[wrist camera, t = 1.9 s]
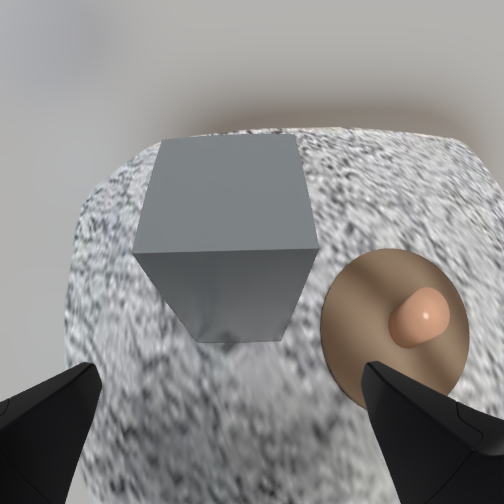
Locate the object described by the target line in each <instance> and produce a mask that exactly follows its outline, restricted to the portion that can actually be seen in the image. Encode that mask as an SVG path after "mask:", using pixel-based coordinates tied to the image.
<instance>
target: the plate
mask: <svg viewBox="0 0 504 504" xmlns="http://www.w3.org/2000/svg"><path fill="white" fill-rule="evenodd" d="M424 287H429V288H433V289H435V290H437V291H438V292H440V293H441V294H442V295H443V297H444V298H445V300H446V302H447V304H448V307H449V311H450V319H449V324H448V326H447V328H446V330H445V331H444V332H443V333H441V334H440V335H438V336H436V337H434V338H432V339H430V340H428V341H426V342H424V343H422V344H420V345H418V346H416V347H414V348H410V349H407V348H402V347H400V346H399V345H397V344H396V343H395V342H394V341H393V339H392V338H391V336H390V333H389V328H388V322H389V318H390V315H391V314H392V312H393V311H394V310H395V309H396V308H397V307H399V306H400V305H401V304H402V303H403V302H405V301H406V300H407V299H408V298H409V297H411V296H412V295H413V294H414V293H415V292H416V291H418V290H419V289H421V288H424ZM321 342H322V347H323V352H324V356H325V359H326V362H327V365H328V367H329V369H330V371H331V373H332V375H333V377H334V379H335V381H336V382H337V383H338V385H339V386H340V388H341V389H342V390H343V391H344V392H345V393H346V395H347V396H348V397H349V398H351V399H352V400H353V401H354V402H355V403H357V404H358V405H360V406H361V407H363V408H365V409H366V410H367V408H366V404H365V400H364V397H363V393H362V389H361V378H362V374H363V370H364V366H365V364H366V363H367V362H370V361H376V360H377V361H380V362H382V363H383V364H385V365H387V366H389V367H391V368H393V369H395V370H397V371H399V372H401V373H402V374H404V375H406V376H408V377H410V378H412V379H414V380H416V381H418V382H420V383H422V384H424V385H426V386H428V387H430V388H432V389H434V390H436V391H438V392H440V393H442V394H444V395H446V396H447V395H448V394H449V393H450V392H451V390H452V389H453V388H454V386H455V385H456V383H457V382H458V380H459V378H460V376H461V374H462V372H463V370H464V367H465V364H466V360H467V356H468V351H469V324H468V318H467V314H466V310H465V307H464V304H463V302H462V300H461V297H460V295H459V293H458V291H457V290H456V288H455V286H454V285H453V283H452V282H451V281H450V279H449V278H448V277H447V276H446V275H445V274H444V273H443V271H441V270H440V269H439V268H438V267H437V266H436V265H435V264H433V263H432V262H430V261H429V260H427V259H425V258H424V257H422V256H420V255H418V254H415V253H413V252H409V251H405V250H401V249H380V250H375V251H371V252H368V253H366V254H363V255H361V256H359V257H358V258H356V259H355V260H353V261H352V262H350V263H349V264H348V265H347V266H346V267H345V268H344V269H343V270H342V271H341V272H340V274H339V275H338V276H337V278H336V279H335V281H334V282H333V284H332V286H331V287H330V290H329V292H328V294H327V296H326V299H325V303H324V306H323V310H322V316H321Z"/></svg>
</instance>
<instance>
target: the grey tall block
mask: <svg viewBox="0 0 504 504" xmlns="http://www.w3.org/2000/svg"><path fill="white" fill-rule="evenodd" d="M318 250H319V245H318V239H317V234H316V229H315V223H314V218H313V213H312V208H311V204H310V199H309V194H308V189H307V185H306V180H305V176H304V171H303V167H302V163H301V158H300V154H299V150H298V146H297V142H296V138H295V135H294V134H239V135H215V136H200V137H187V138H176V139H166V140H162V142H161V145H160V148H159V152H158V155H157V158H156V161H155V164H154V168H153V171H152V174H151V178H150V181H149V185H148V189H147V192H146V196H145V200H144V204H143V207H142V211H141V216H140V220H139V224H138V228H137V233H136V237H135V242H134V247H133V251H132V254H133V255H134V257H135V258H136V260H137V261H138V263H139V264H140V266H141V267H142V269H143V270H144V272H145V273H146V275H147V276H148V277H149V279H150V280H151V282H152V283H153V284H154V286H155V287H156V289H157V290H158V291H159V293H160V294H161V295H162V297H163V298H164V300H165V301H166V302H167V304H168V305H169V306H170V308H171V309H172V310H173V312H174V313H175V314H176V315H177V317H178V318H179V319H180V321H181V322H182V323H183V324H184V326H185V327H186V328H187V330H188V331H189V332H190V333H191V335H192V336H193V337H194V338H195V340H196V341H197V342H204V343H228V342H266V341H281V339H282V337H283V335H284V332H285V330H286V328H287V325H288V323H289V321H290V319H291V316H292V314H293V312H294V309H295V307H296V305H297V302H298V300H299V297H300V295H301V293H302V290H303V288H304V285H305V283H306V280H307V278H308V275H309V273H310V270H311V268H312V265H313V263H314V260H315V258H316V255H317V253H318Z"/></svg>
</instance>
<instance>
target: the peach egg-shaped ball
mask: <svg viewBox="0 0 504 504" xmlns="http://www.w3.org/2000/svg"><path fill="white" fill-rule="evenodd" d="M449 319H450V311H449V307H448V304H447V302H446V300H445V298H444V297H443V295H442V294H441V293H440V292H438V291H437V290H435V289H433V288H429V287H424V288H421V289H419V290H418V291H416V292H415V293H414V294H413V295H412V296H411V297H409V298H408V299H407V300H406V301H405V302H403V303H402V304H401V305H400V306H399V307H397V308H396V309H395V310H394V311H393V312H392V314H391V315H390V318H389V322H388V328H389V333H390V336H391V338H392V339H393V341H394V342H395V343H396V344H397V345H399V346H400V347H402V348H407V349H410V348H414V347H416V346H418V345H420V344H422V343H424V342H426V341H428V340H430V339H432V338H434V337H436V336H438V335H440V334H441V333H443V332H444V331H445V330H446V328H447V326H448V324H449Z"/></svg>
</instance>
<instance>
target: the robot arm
mask: <svg viewBox="0 0 504 504" xmlns="http://www.w3.org/2000/svg"><path fill="white" fill-rule="evenodd" d="M101 389H102V381H101V379H100V376H99V373H98V370H97V368H96V366H95V364H93V363H89V362H83V363H81V364H79V365H77V366H75V367H73V368H70V369H68V370H66V371H64V372H62V373H60V374H58V375H56V376H54V377H52V378H50V379H48V380H46V381H44V382H42V383H40V384H38V385H36V386H34V387H32V388H29V389H27V390H25V391H23V392H21V393H19V394H17V395H15V396H13V397H11V398H8V399H6V400H4V401H2V402H0V504H65V502H66V498H67V495H68V491H69V488H70V485H71V482H72V478H73V475H74V472H75V469H76V466H77V463H78V460H79V457H80V454H81V452H82V449H83V446H84V443H85V440H86V438H87V435H88V432H89V430H90V427H91V424H92V421H93V418H94V414H95V411H96V407H97V403H98V400H99V396H100V393H101ZM361 389H362V393H363V397H364V400H365V404H366V408H367V412H368V415H369V419H370V422H371V425H372V428H373V431H374V433H375V436H376V438H377V441H378V443H379V446H380V448H381V451H382V454H383V456H384V459H385V461H386V464H387V467H388V469H389V472H390V475H391V477H392V480H393V483H394V486H395V488H396V491H397V494H398V497H399V500H400V503H401V504H504V420H502V419H499V418H496V417H494V416H491V415H488V414H485V413H483V412H480V411H477V410H475V409H473V408H471V407H468V406H466V405H464V404H462V403H460V402H458V401H457V402H456V401H455V400H454V399H452V398H450V397H448V396H446V395H444V394H442V393H440V392H438V391H436V390H434V389H432V388H430V387H428V386H426V385H424V384H422V383H420V382H418V381H416V380H414V379H412V378H410V377H408V376H406V375H404V374H402V373H401V372H399V371H397V370H395V369H393V368H391V367H389V366H387V365H385V364H383V363H382V362H380V361H377V360H376V361H370V362H367V363H366V364H365V366H364V370H363V374H362V378H361Z"/></svg>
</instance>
